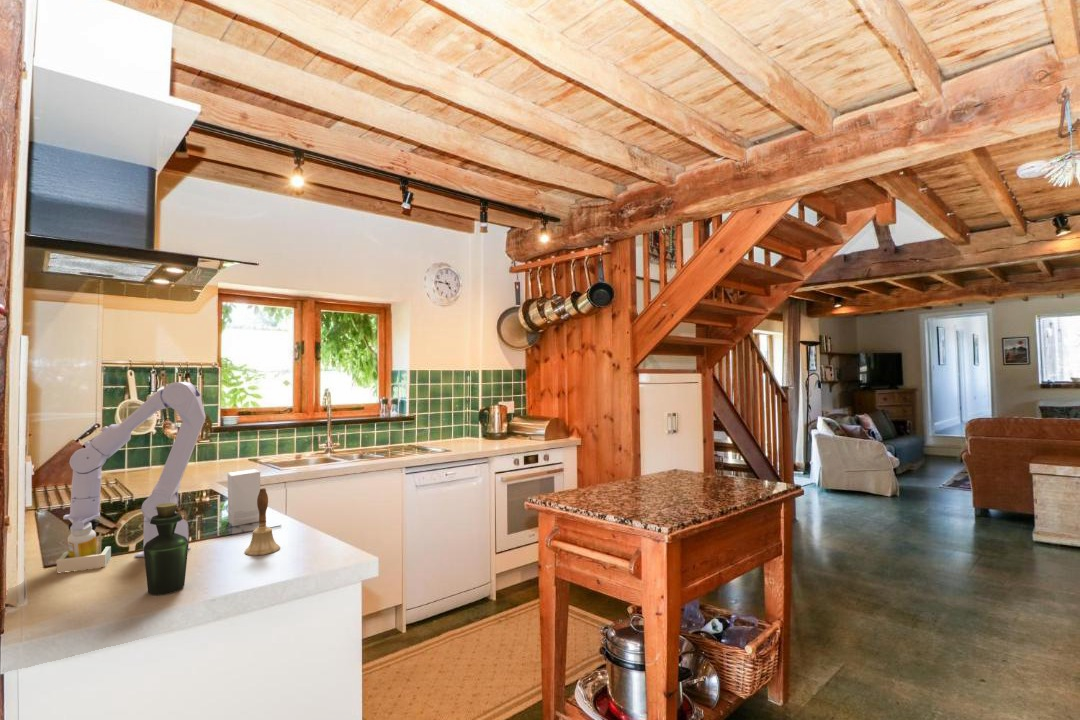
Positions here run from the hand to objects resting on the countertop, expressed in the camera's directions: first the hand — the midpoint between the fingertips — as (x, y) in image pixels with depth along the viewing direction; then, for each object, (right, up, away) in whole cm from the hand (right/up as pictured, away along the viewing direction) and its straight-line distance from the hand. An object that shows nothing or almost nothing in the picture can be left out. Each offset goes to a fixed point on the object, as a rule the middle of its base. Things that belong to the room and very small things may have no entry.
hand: (82, 552), depth 140 cm
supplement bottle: (+2, -2, -2) cm, 3 cm away
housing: (+3, -2, -4) cm, 5 cm away
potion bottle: (+33, -2, -19) cm, 38 cm away
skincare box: (+22, -3, +35) cm, 41 cm away
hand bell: (+41, -2, +7) cm, 42 cm away
